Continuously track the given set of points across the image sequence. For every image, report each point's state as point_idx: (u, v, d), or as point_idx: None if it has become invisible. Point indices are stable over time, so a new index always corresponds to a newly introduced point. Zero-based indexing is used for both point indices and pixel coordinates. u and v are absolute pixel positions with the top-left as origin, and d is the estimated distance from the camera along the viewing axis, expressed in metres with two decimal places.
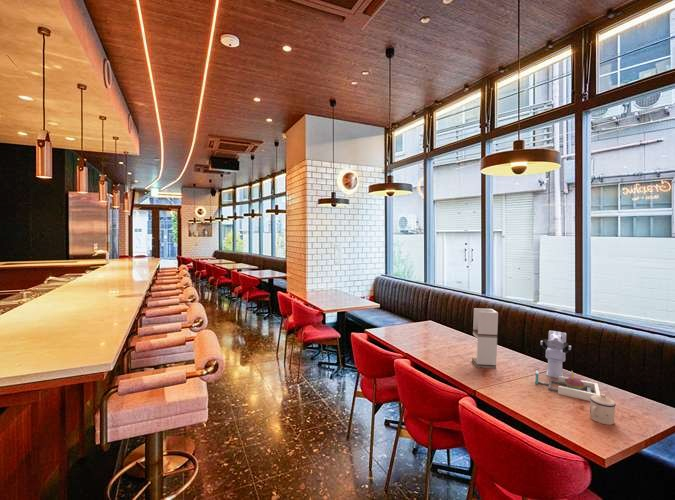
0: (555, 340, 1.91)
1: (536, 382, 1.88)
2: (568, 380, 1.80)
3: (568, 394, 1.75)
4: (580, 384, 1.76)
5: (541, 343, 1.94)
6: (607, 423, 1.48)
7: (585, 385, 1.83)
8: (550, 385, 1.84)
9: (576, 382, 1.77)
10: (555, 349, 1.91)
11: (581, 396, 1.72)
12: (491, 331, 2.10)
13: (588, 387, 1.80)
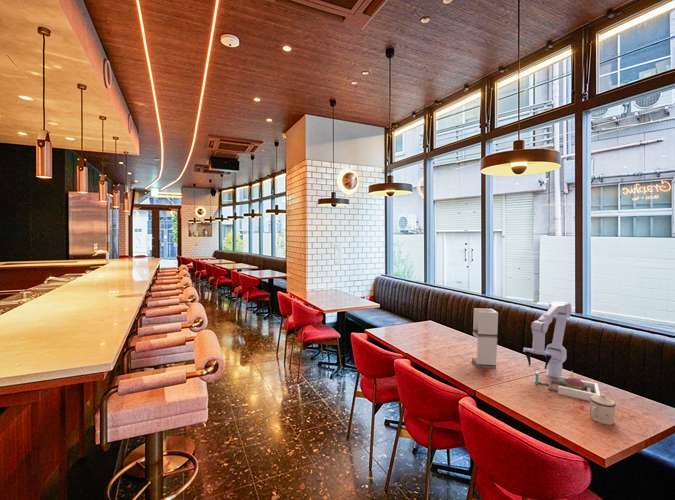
0: None
1: (536, 382, 1.88)
2: (568, 380, 1.80)
3: (568, 394, 1.75)
4: (580, 384, 1.76)
5: None
6: (607, 423, 1.48)
7: (585, 385, 1.83)
8: (550, 385, 1.84)
9: (576, 382, 1.77)
10: None
11: (581, 396, 1.72)
12: (491, 331, 2.10)
13: (588, 387, 1.80)
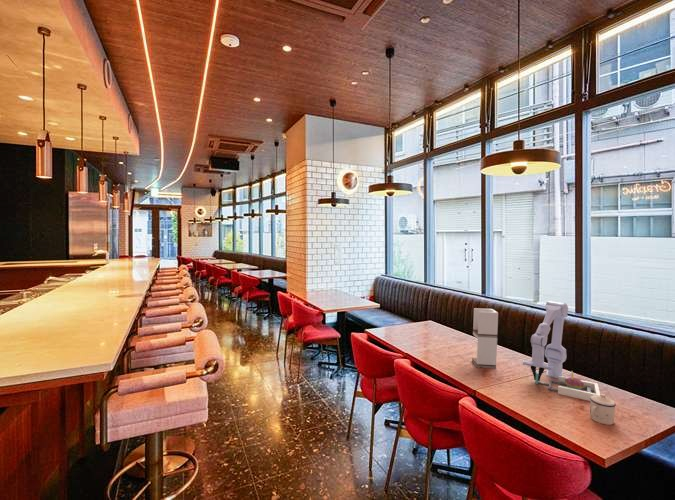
0: (537, 366, 1.87)
1: (536, 382, 1.88)
2: (568, 380, 1.80)
3: (568, 394, 1.75)
4: (580, 384, 1.76)
5: None
6: (607, 423, 1.48)
7: (585, 385, 1.83)
8: (550, 385, 1.84)
9: (576, 382, 1.77)
10: None
11: (581, 396, 1.72)
12: (491, 331, 2.10)
13: (588, 387, 1.80)
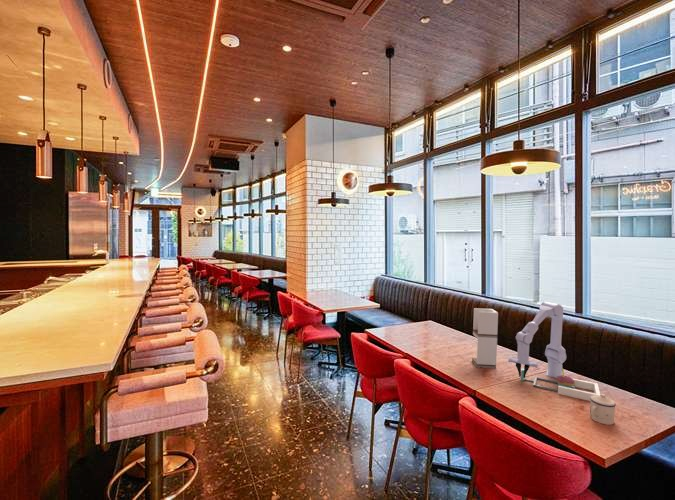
0: None
1: (522, 379, 1.92)
2: (558, 377, 1.83)
3: (568, 394, 1.75)
4: (570, 382, 1.79)
5: None
6: (607, 423, 1.48)
7: (585, 385, 1.83)
8: (535, 382, 1.88)
9: (566, 380, 1.80)
10: None
11: (581, 396, 1.72)
12: (491, 331, 2.10)
13: None
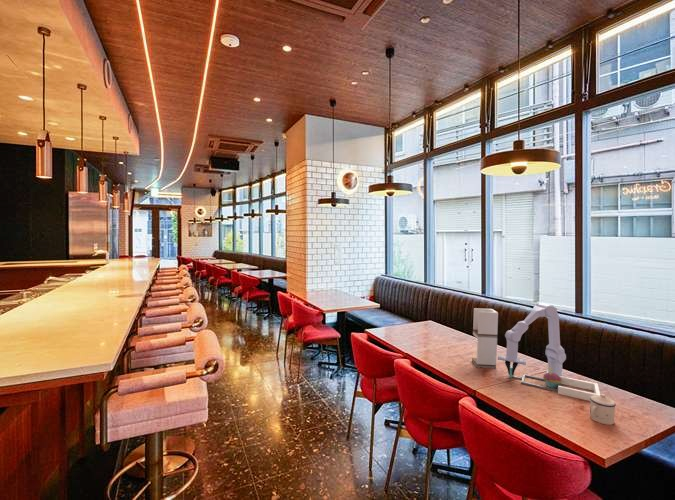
0: None
1: (510, 376, 1.95)
2: (546, 375, 1.87)
3: (568, 394, 1.75)
4: (556, 379, 1.82)
5: None
6: (607, 423, 1.48)
7: (585, 385, 1.83)
8: (523, 379, 1.91)
9: (552, 377, 1.83)
10: None
11: (581, 396, 1.72)
12: (491, 331, 2.10)
13: None
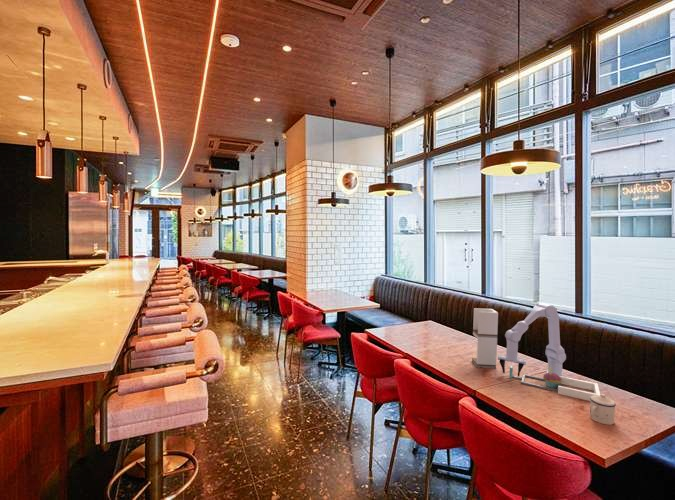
0: None
1: (510, 376, 1.95)
2: (546, 375, 1.87)
3: (568, 394, 1.75)
4: (556, 379, 1.82)
5: None
6: (607, 423, 1.48)
7: (585, 385, 1.83)
8: (523, 379, 1.91)
9: (552, 377, 1.83)
10: None
11: (581, 396, 1.72)
12: (491, 331, 2.10)
13: None
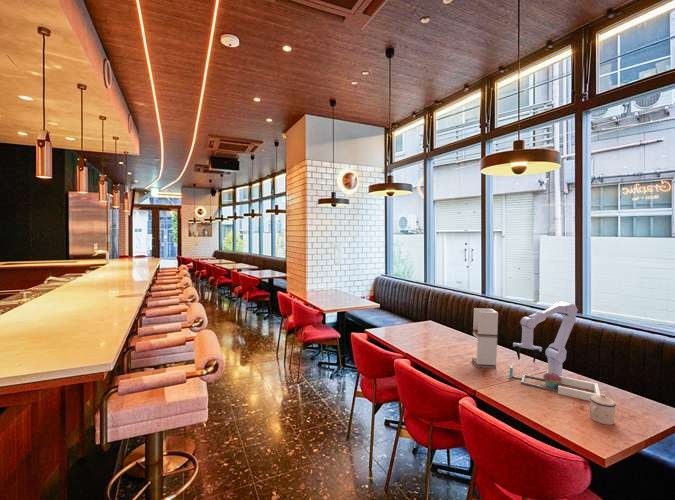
0: (526, 347, 1.96)
1: (510, 376, 1.95)
2: (546, 375, 1.87)
3: (568, 394, 1.75)
4: (556, 379, 1.82)
5: None
6: (607, 423, 1.48)
7: (585, 385, 1.83)
8: (523, 379, 1.91)
9: (552, 377, 1.83)
10: None
11: (581, 396, 1.72)
12: (491, 331, 2.10)
13: None
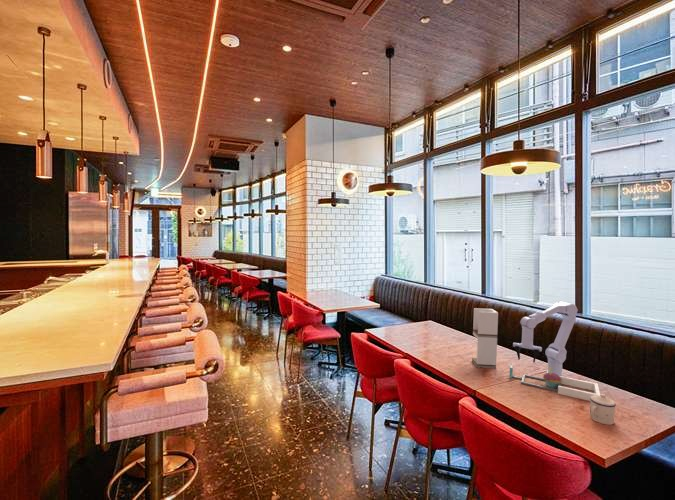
0: (526, 347, 1.96)
1: (510, 376, 1.95)
2: (546, 375, 1.87)
3: (568, 394, 1.75)
4: (556, 379, 1.82)
5: None
6: (607, 423, 1.48)
7: (585, 385, 1.83)
8: (523, 379, 1.91)
9: (552, 377, 1.83)
10: None
11: (581, 396, 1.72)
12: (491, 331, 2.10)
13: None
